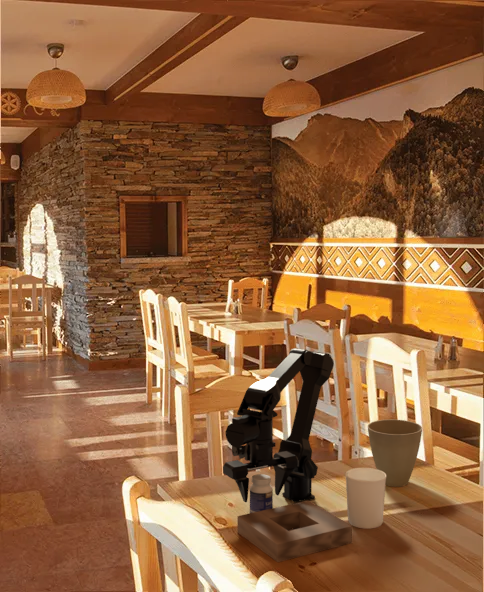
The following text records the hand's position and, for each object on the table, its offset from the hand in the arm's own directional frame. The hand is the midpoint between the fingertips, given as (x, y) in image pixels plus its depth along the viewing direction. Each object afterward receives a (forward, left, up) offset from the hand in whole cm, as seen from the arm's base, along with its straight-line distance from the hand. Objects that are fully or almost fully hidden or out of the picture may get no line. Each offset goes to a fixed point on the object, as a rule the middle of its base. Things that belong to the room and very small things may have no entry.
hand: (261, 498), depth 195 cm
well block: (0, +15, -4) cm, 16 cm away
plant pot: (-44, -2, -5) cm, 44 cm away
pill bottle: (0, 0, -5) cm, 5 cm away
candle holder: (-20, +16, -5) cm, 26 cm away
